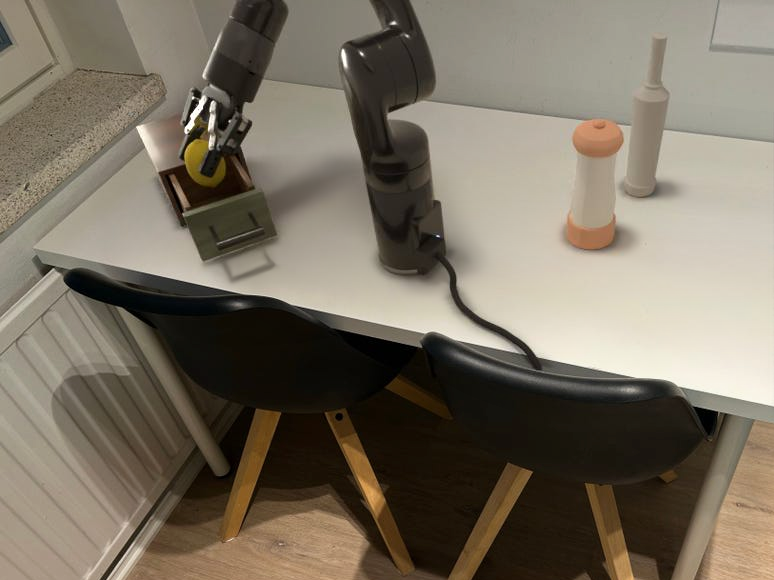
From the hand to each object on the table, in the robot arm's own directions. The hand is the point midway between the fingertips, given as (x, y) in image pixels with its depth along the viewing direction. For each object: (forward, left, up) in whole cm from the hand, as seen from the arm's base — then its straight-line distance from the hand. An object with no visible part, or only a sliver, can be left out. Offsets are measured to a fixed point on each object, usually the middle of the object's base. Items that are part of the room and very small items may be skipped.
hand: (194, 167), depth 107 cm
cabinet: (+11, -8, -12) cm, 18 cm away
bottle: (-55, -41, -12) cm, 70 cm away
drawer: (-3, 0, -11) cm, 11 cm away
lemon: (0, -2, -4) cm, 5 cm away
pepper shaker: (-53, -26, -12) cm, 60 cm away
